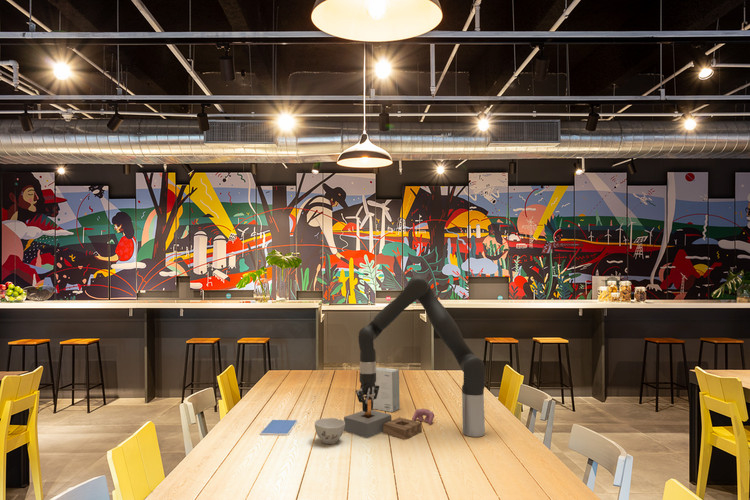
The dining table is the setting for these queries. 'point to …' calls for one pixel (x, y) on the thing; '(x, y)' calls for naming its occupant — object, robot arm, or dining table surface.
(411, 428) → the pin mount
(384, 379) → the hard drive box
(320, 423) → the teacup
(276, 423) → the blue book
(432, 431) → the dining table surface
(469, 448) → the dining table surface
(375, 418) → the dock socket
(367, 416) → the pin
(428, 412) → the video game controller
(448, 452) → the dining table surface
